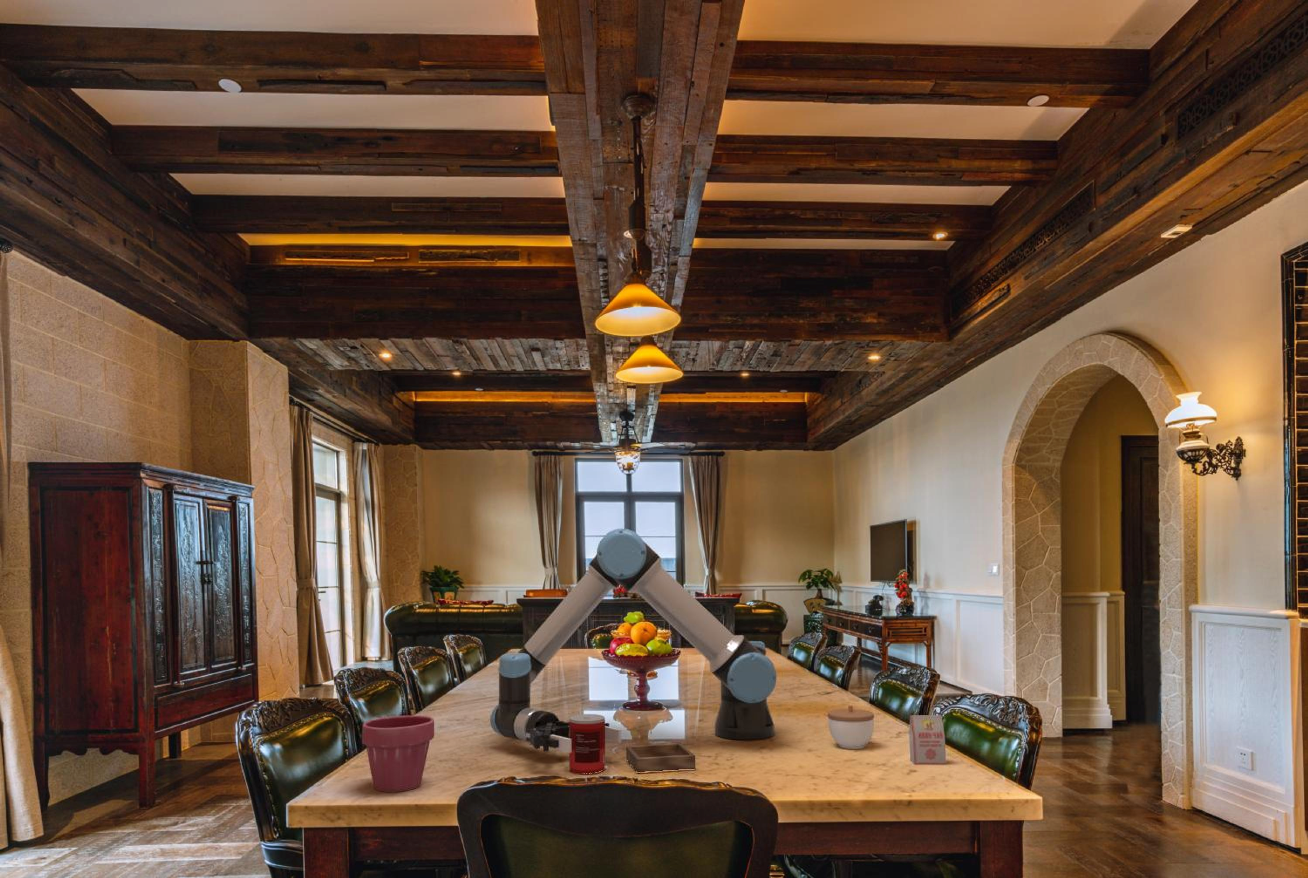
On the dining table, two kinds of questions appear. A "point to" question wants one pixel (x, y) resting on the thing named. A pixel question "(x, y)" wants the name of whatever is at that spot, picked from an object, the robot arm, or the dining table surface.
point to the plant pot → (397, 750)
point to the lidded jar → (851, 727)
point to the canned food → (587, 743)
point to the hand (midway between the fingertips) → (595, 740)
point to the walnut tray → (660, 757)
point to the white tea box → (927, 740)
